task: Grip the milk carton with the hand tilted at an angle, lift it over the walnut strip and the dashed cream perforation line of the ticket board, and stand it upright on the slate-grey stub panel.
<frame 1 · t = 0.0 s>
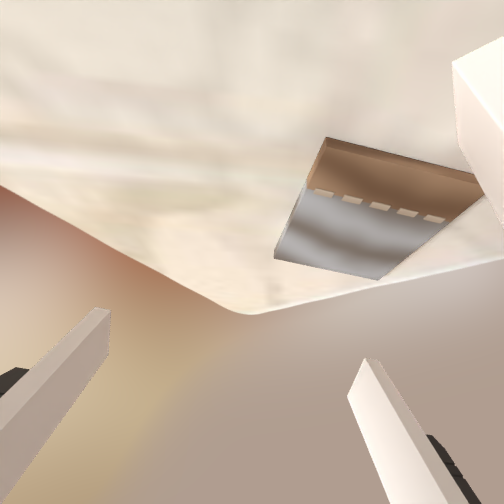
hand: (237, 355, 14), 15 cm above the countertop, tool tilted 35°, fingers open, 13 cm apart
ticket board: (357, 221, 26), on the countertop
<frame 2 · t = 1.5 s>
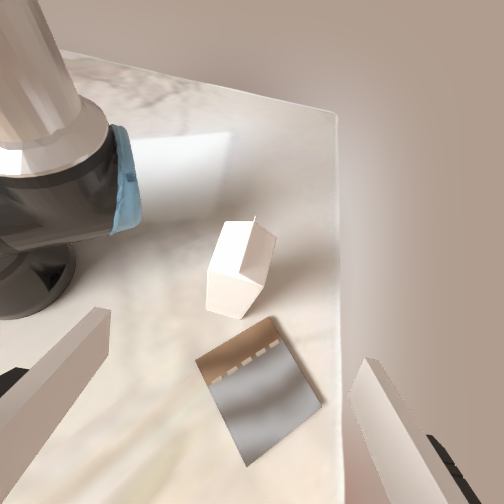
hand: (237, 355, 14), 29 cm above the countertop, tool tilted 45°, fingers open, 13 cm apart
ticket board: (257, 383, 40), on the countertop
milk: (228, 298, 45), on the countertop
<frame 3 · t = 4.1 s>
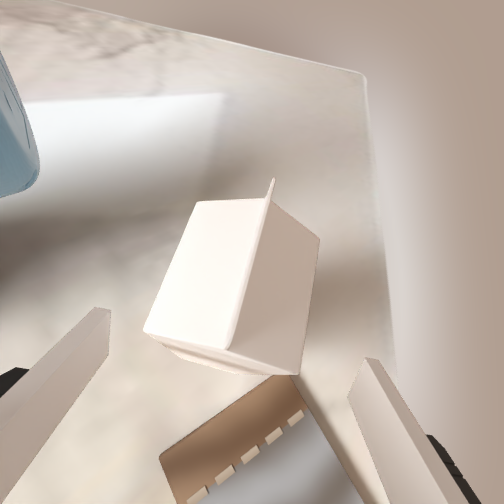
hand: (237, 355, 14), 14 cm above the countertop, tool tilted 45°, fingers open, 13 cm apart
ticket board: (268, 491, 23), on the countertop
milk: (219, 337, 28), on the countertop
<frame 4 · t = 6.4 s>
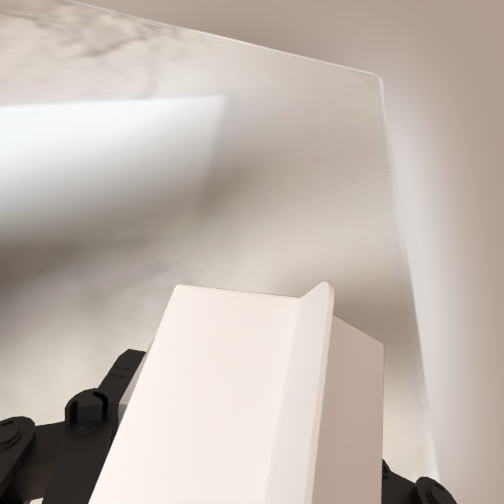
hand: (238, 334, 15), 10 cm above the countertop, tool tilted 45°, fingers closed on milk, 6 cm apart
milk: (217, 393, 23), on the countertop, touching gripper
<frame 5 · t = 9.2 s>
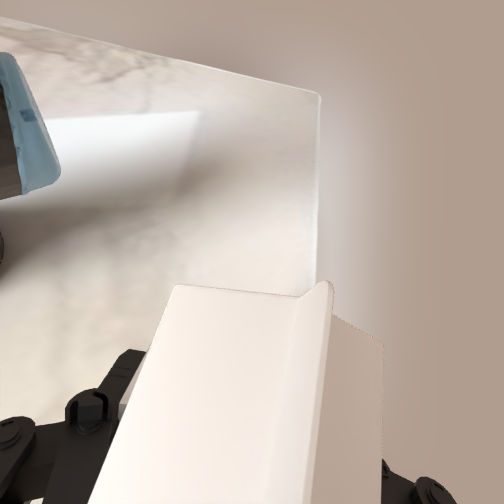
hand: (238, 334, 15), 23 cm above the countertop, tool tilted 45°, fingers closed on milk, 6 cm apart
milk: (217, 393, 23), point 13 cm above the countertop, touching gripper
when the fingers open (13 cm above the countertop, at t = 11.8 s): milk drops 1 cm, resting on ticket board.
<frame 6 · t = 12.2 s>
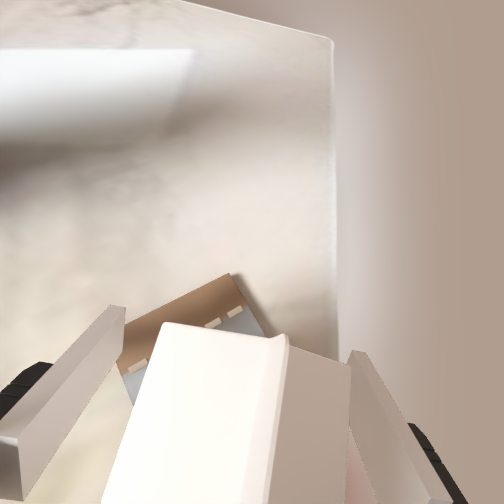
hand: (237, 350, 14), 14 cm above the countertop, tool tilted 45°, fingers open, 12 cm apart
ticket board: (206, 371, 26), on the countertop
milk: (215, 394, 24), point 1 cm above the countertop, touching ticket board
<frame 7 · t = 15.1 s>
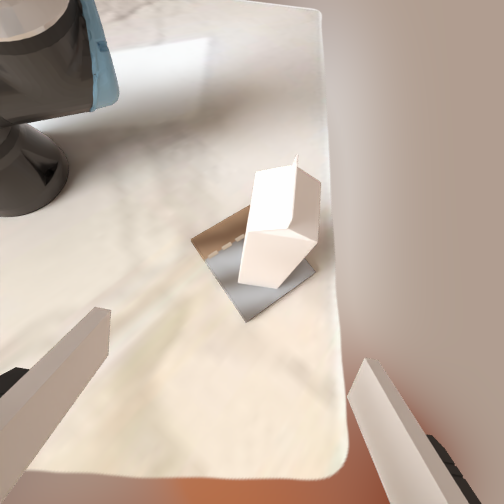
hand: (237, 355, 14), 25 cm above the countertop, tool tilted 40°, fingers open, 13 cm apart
ticket board: (252, 258, 42), on the countertop
milk: (259, 267, 41), point 1 cm above the countertop, touching ticket board
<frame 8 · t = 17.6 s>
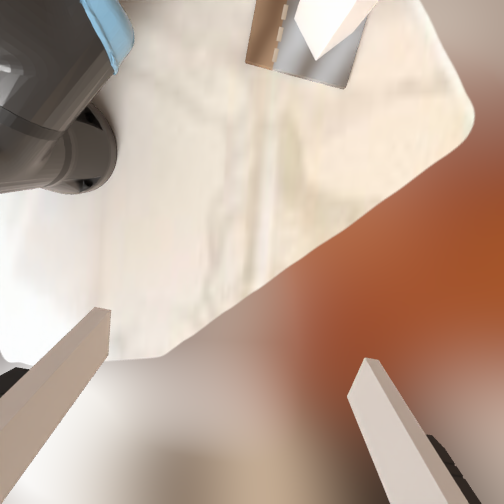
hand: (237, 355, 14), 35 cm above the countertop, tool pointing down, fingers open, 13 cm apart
ticket board: (307, 23, 37), on the countertop
milk: (323, 26, 37), point 1 cm above the countertop, touching ticket board
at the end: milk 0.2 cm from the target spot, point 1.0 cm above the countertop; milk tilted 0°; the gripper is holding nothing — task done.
